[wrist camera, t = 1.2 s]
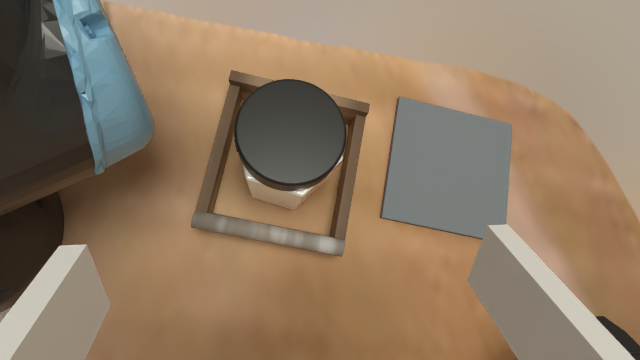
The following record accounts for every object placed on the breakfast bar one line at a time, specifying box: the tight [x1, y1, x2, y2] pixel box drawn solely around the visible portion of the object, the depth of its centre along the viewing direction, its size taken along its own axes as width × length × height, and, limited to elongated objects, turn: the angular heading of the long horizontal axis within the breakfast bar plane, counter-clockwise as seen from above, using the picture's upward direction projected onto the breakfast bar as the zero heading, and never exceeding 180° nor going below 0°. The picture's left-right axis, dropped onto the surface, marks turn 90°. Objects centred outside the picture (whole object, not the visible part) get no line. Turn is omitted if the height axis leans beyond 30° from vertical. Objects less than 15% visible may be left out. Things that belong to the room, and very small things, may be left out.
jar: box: [234, 79, 346, 210], centre depth 30 cm, size 9×8×12 cm
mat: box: [380, 97, 512, 239], centre depth 39 cm, size 14×14×1 cm
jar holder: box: [191, 70, 370, 256], centre depth 34 cm, size 14×15×4 cm
